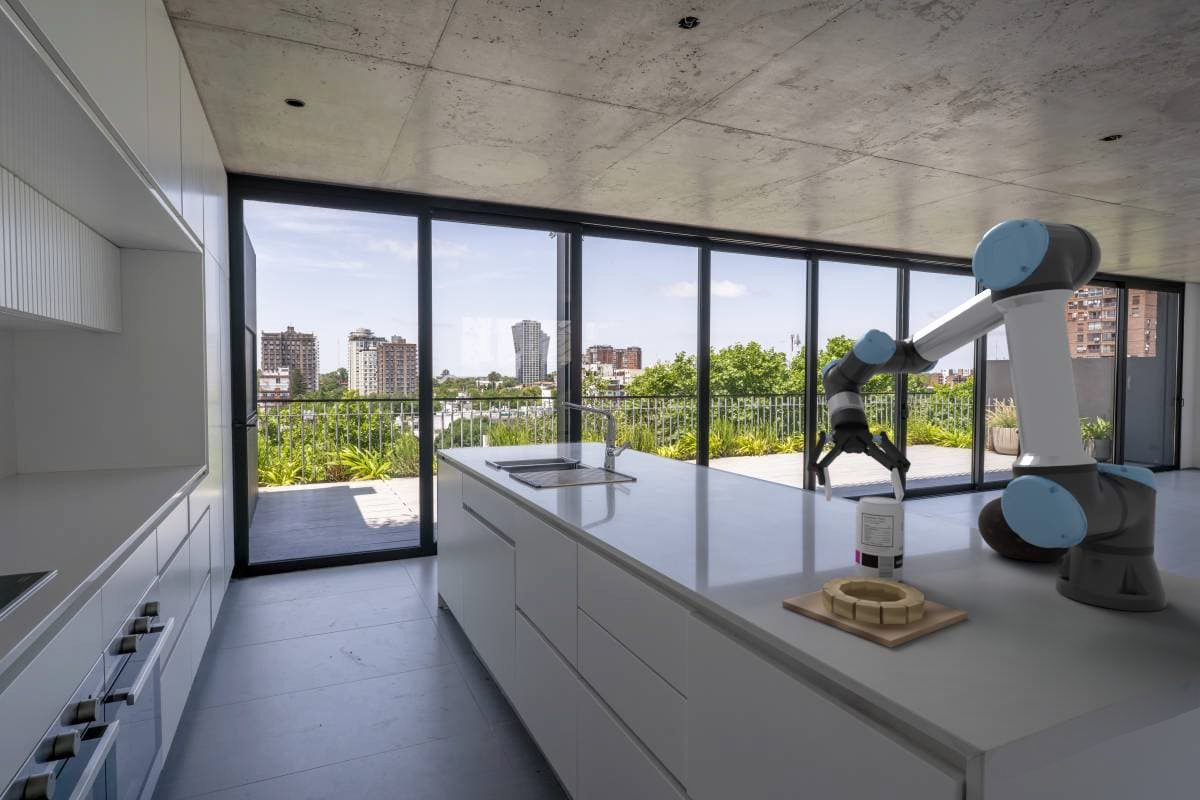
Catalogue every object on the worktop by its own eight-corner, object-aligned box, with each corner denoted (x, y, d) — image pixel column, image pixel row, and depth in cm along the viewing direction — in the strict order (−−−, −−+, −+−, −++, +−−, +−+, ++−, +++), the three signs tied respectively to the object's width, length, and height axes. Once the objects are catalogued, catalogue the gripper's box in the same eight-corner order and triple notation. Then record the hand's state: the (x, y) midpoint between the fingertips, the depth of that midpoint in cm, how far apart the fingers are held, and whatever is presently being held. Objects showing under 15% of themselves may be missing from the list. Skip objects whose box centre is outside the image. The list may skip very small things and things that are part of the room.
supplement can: (846, 574, 128) (847, 497, 127) (881, 570, 130) (882, 495, 129) (875, 587, 120) (876, 505, 119) (912, 583, 122) (913, 502, 122)
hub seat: (967, 618, 105) (967, 596, 105) (890, 647, 94) (890, 623, 94) (858, 584, 122) (858, 566, 122) (782, 606, 111) (782, 585, 111)
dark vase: (966, 556, 139) (968, 424, 138) (992, 540, 152) (993, 419, 151) (1068, 574, 126) (1071, 428, 125) (1087, 555, 139) (1090, 422, 138)
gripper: (903, 428, 147) (925, 509, 133) (787, 428, 151) (798, 507, 137) (911, 406, 142) (935, 488, 128) (791, 406, 145) (802, 486, 131)
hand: (864, 498), depth 132 cm, fingers open, 13 cm apart
